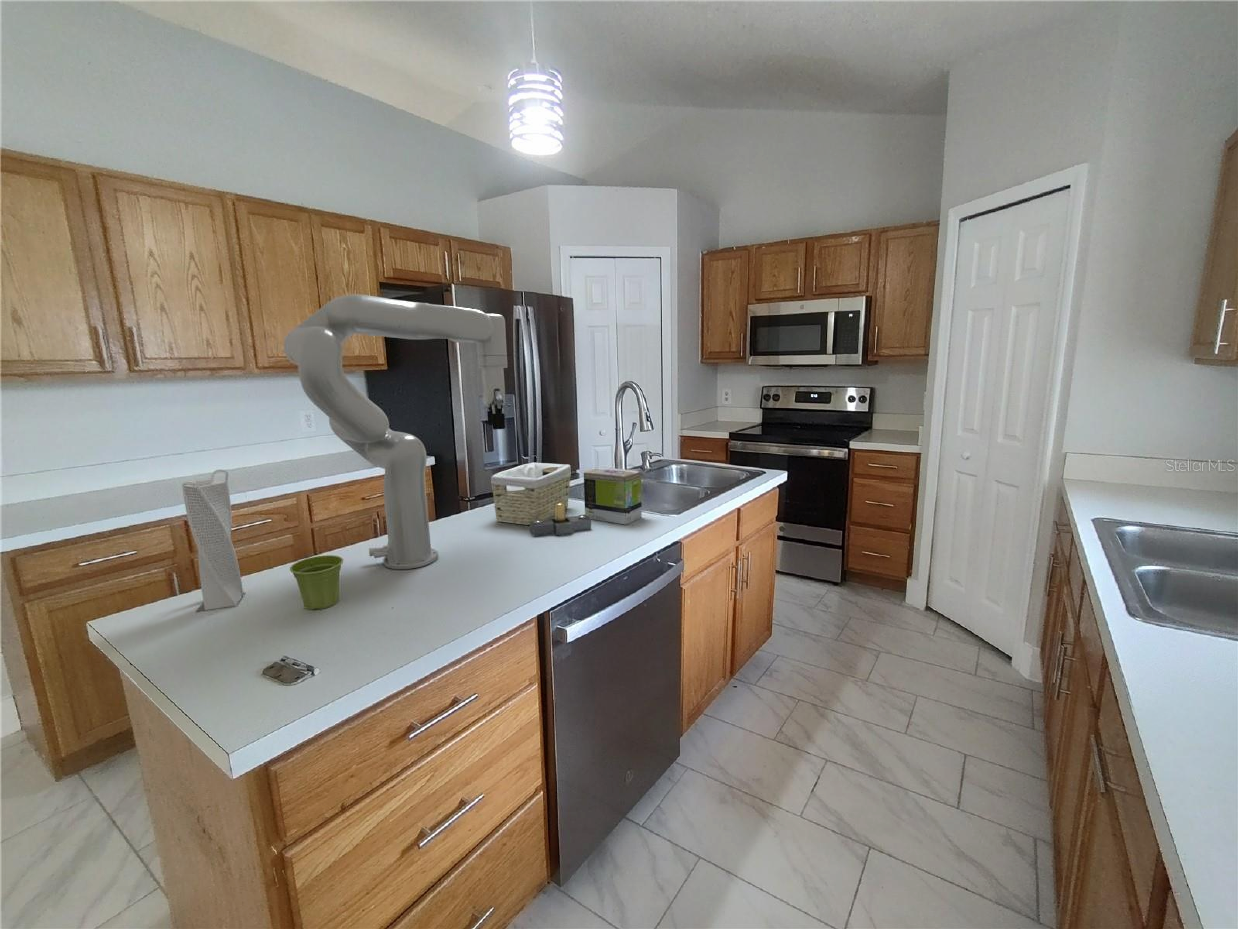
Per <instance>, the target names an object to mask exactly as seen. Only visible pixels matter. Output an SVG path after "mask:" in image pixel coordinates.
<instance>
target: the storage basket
mask: <svg viewBox="0 0 1238 929" xmlns="http://www.w3.org/2000/svg"><path fill="white" fill-rule="evenodd" d="M571 466H572V465H570V464H568V463H567V464H564V463H563V464H562V463H561V464H560V463H549V462H548V463H547V462H546V463H545V462H544V463H543V462H529V463H525V464H521V465H518V466H515V467H513V468H509V469H506V470H502V471H500V472H497V473H495V474H493V475H492V476H491V479H490V483H491V490H492V494H493V503H494V511H495V520H496V521H497V522H499V523H510V524H516V525H525V526H528V525H529V526H530V521H534V520H545V519H549V517H555V515H554V503H556V502H565V504H566V509H568V508H569V497H570V485H571V484H570V482H571V475H572V472H571V469H572V468H571ZM544 473H548V474H545V475H544Z"/></svg>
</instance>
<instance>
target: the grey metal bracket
mask: <svg viewBox="0 0 1238 929" xmlns="http://www.w3.org/2000/svg"><path fill="white" fill-rule="evenodd" d="M590 530H592V519H590V518H589V517H588V516H587V515H585V514H579V515H573V516H566V522H563V523H555V516H552V517H549V518H548V519H545V520H534V521H530V525H529V532H530V533H531V535H532V537H542V536H550V534H551V535H555V534H556V535H555V536H556V537H558V536H559V535H560V536H566V535H567V534H568V535H573V533H574V532H581V531H582V532H583V531H590Z"/></svg>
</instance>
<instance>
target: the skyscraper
mask: <svg viewBox="0 0 1238 929" xmlns="http://www.w3.org/2000/svg"><path fill="white" fill-rule="evenodd" d="M217 473H224V474H225V479H224V481H221V480H215V479H214V477H215V475H216V474H217ZM228 479H229V471H227V470H225V469H216V470H214V471H213V472H212V474H211V476H210V477H206V478H204V477H203V478H199V479H196V480H195V482H190V481H189V482H188V481H187V482H183V483H182V486H181V488H182V494H183V501H184V507H185V511H186V517H187V521H188V524H189V528H190V532H191V534H192V538H193V539H194V542H195V544H196V547H197V559H198V563H197V564H198V572H199V580H200V587H201V593H202V600H203V601H202V603H201V604H200V605H199V607H197V609H196V610H195V613H200V612H209V611H215V610H222V609H227V608H229V609H230V608H234V607H235V608H236V607H238V605H239V604H240V603H241V601H242V599H243V598H244V597H245V595H246V592H245V591H244V590H243V589H244V588H243V582H242V577H241V571H240V567H239V561H238V558H237V553H236V550H235V548H234V544H233V541H232V539H231V533H232V525H233V523H232V516H233V515H232V505H231V504H232V503H231V495H230V489H229V483H228Z"/></svg>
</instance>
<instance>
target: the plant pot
mask: <svg viewBox="0 0 1238 929" xmlns="http://www.w3.org/2000/svg"><path fill="white" fill-rule="evenodd" d="M343 563H344V558H343V557H341V556H339V555H333V554H332V555H331V554H329V555H317V556H312V557H309V558H304V559H301V560H299V561H297V562H294V563H293V564H291V566H290V567H289V570H290V572H291V573H292V575H293V577H294V578H295V579H296V582H297V586H298V589H299V592H300V595H301V598H302V602H303V605H304V607H305V609H307V610H311V611H312V610H315V609H320V610H323V609H327V608H329V607H332V606H334V605H335V604H337V602H338V600H339V594H340V593H339V592H340V571H341V568H342V564H343Z"/></svg>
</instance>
